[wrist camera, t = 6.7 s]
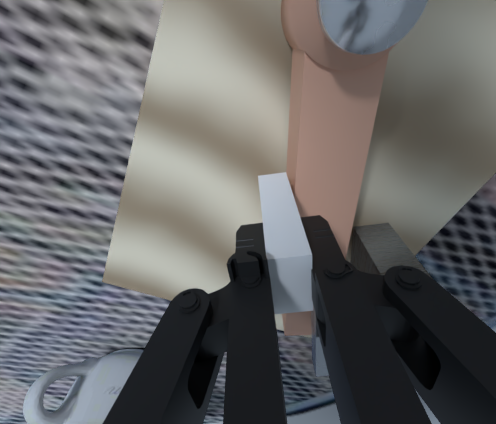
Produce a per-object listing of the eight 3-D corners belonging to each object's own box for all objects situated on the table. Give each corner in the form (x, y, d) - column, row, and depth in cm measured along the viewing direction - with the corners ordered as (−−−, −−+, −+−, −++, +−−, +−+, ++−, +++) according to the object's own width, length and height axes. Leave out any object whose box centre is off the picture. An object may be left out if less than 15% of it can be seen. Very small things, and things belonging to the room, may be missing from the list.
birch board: (215, -211, 10) (213, -227, 9) (594, 55, 15) (609, 56, 14) (106, 275, 22) (102, 281, 22) (327, 336, 27) (329, 343, 26)
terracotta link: (282, -56, 11) (296, -91, 8) (389, -59, 11) (443, -96, 8) (272, 297, 23) (276, 338, 20) (326, 296, 23) (339, 336, 19)
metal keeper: (295, 233, 20) (318, 321, 13) (388, 222, 19) (456, 308, 13) (298, 295, 23) (318, 388, 17) (378, 287, 22) (427, 380, 16)
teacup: (206, 380, 31) (195, 475, 24) (123, 398, 33) (91, 491, 26) (138, 301, 24) (97, 404, 17) (39, 329, 26) (-34, 431, 19)
